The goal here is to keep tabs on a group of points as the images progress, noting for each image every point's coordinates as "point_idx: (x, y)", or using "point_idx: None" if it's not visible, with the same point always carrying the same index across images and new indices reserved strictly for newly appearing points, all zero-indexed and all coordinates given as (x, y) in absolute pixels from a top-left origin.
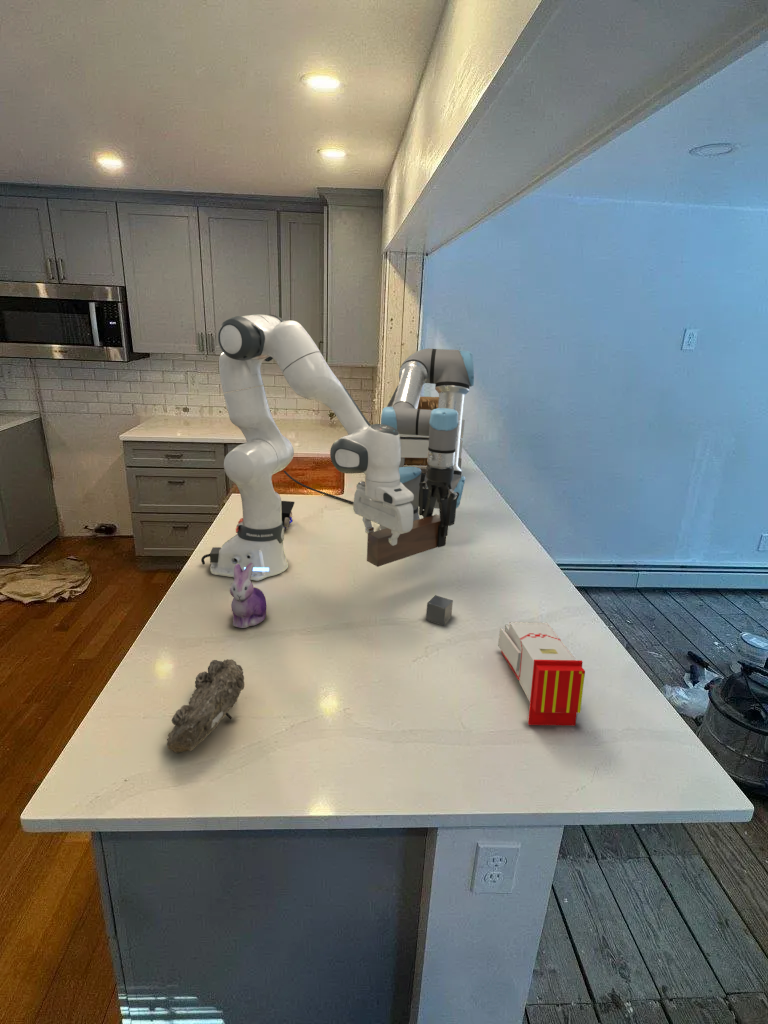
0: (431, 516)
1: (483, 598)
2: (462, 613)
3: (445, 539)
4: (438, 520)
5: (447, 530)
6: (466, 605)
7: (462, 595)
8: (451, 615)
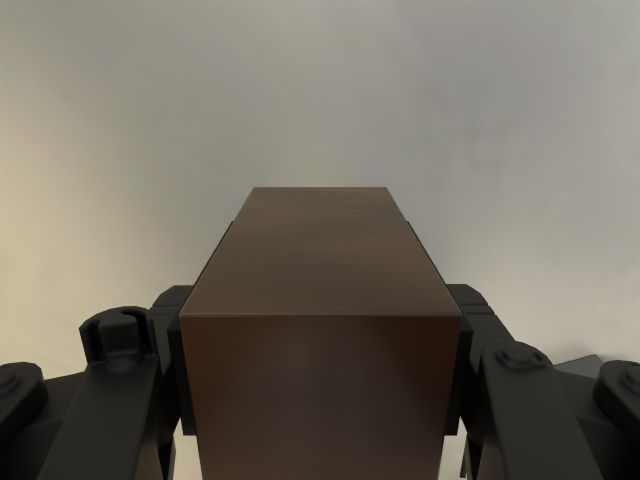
0: (219, 440)
1: (628, 139)
2: (614, 305)
3: (421, 243)
4: (407, 465)
5: (499, 328)
6: (596, 249)
7: (536, 198)
8: (600, 359)
